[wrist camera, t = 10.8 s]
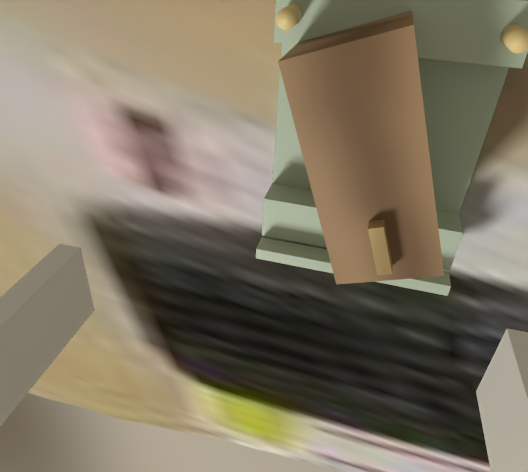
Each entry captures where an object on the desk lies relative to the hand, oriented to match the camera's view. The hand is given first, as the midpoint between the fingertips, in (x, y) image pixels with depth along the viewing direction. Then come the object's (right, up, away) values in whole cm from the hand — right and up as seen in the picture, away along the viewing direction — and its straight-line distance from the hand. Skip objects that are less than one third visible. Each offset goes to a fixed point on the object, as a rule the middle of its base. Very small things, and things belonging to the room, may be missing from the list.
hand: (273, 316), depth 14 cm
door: (+6, +8, +13) cm, 16 cm away
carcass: (+7, +10, +15) cm, 19 cm away
